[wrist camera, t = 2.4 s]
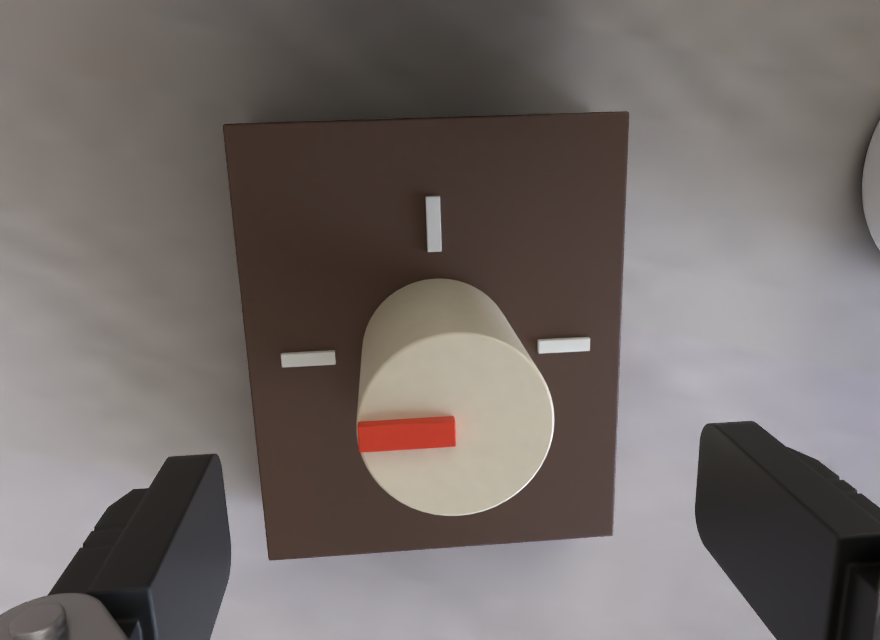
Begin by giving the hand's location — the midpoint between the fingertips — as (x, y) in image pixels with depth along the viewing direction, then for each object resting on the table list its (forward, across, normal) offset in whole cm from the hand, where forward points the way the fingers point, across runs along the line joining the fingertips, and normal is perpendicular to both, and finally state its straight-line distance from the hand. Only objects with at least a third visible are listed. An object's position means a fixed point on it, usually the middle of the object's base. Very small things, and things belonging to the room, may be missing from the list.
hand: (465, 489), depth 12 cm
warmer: (+11, 0, 0) cm, 11 cm away
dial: (+8, 0, 0) cm, 8 cm away
